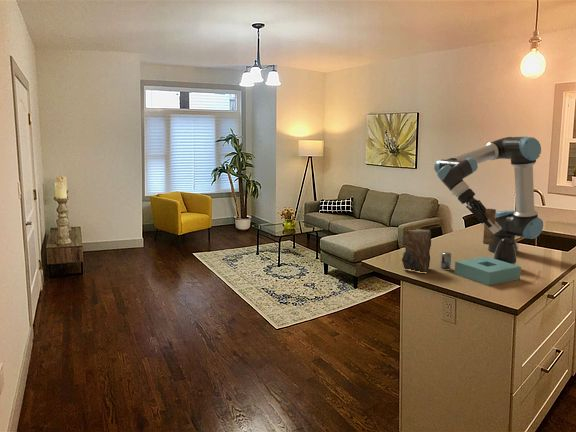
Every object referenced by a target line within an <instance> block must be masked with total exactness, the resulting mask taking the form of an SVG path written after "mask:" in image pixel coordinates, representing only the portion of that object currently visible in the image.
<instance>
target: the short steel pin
mask: <svg viewBox="0 0 576 432" xmlns="http://www.w3.org/2000/svg"><path fill="white" fill-rule="evenodd" d="M440 255H441V257H440V259H441V260H440V269H441V268H442V269H450V270H451V268H452V267H451V266H452V264H451V263H452V253H451V252H448V251H444V252H443V251H442V252H441V254H440ZM442 269H441V270H442Z"/></svg>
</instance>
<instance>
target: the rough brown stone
mask: <svg viewBox="0 0 576 432" xmlns="http://www.w3.org/2000/svg"><path fill="white" fill-rule="evenodd" d="M431 234H432V230H431V229H422V228H417V229H413V230H412V229H407V230H406V235H405V237H404V241H403V247H404V248H405V249H404V252H403V253H402V258H401V261H402V263H403V264H402V265H403V269H404V268H405V269H411V270H415V271H420V272H427V273H428V271H429V267H430V263H431V255H430V253H431V252H430V250H431V246H432V235H431ZM427 270H428V271H427Z"/></svg>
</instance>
